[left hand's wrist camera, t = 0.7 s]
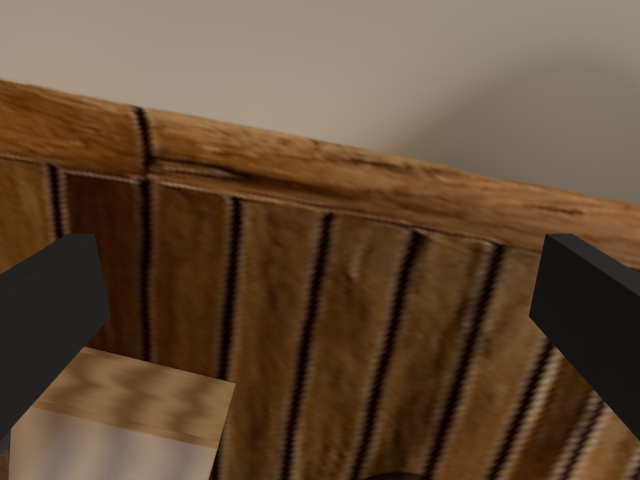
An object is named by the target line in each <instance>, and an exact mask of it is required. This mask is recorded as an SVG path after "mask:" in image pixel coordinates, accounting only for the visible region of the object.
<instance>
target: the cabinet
mask: <svg viewBox="0 0 640 480" xmlns="http://www.w3.org/2000/svg"><path fill="white" fill-rule="evenodd" d="M234 387H235V383H232V382H228V381H224V380H220V379H216V378H211V377H207V376H203V375H199V374H195V373H191V372H187V371H183V370H179V369H174V368H170V367H166V366H162V365H158V364H154V363H150V362H146V361H142V360H138V359H133V358H129V357H125V356H121V355H117V354H113V353H109V352H105V351H101V350H96V349H92V348H88V347H83V348H82V350H81V351H80V352H79V353H78V354H77V355H76V356H75V357H74V359H73V360H72V361H71V362H70V363H69V364H68V365H67V366H66V368H65V369H64V370H63V371H62V372H61V373H60V374H59V375H58V377H57V378H56V379H55V380H54V381H53V382H52V383H51V384H50V386H49V387H48V388H47V389H46V390H45V391H44V392H43V393H42V395H41V396H40V397H39V398H38V399H37V400H36V401H35V402H34V404H33V405H32V406H31V407H30V408H29V409H28V410H27V411H26V413H25V414H24V415H23V416H22V417H21V418H20V419H19V420H18V422H17V423H16V424H15V425H14V426H13V427H12V428H11V439H10V459H9V478H8V480H208V479H209V476H210V472H211V469H212V465H213V462H214V459H215V455H216V452H217V448H218V445H219V441H220V437H221V434H222V430H223V427H224V423H225V420H226V416H227V412H228V409H229V405H230V402H231V398H232V395H233V391H234Z"/></svg>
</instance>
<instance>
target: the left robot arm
mask: <svg viewBox="0 0 640 480" xmlns="http://www.w3.org/2000/svg"><path fill="white" fill-rule="evenodd" d="M110 317H111V313H110V308H109V303H108V299H107V294H106V289H105V284H104V279H103V274H102V269H101V264H100V260H99V255H98V250H97V245H96V240H95V235H94V234H67V235H65V236H63V237H62V238H60V239H58V240H57V241H55V242H53V243H52V244H50V245H49V246H47V247H45V248H44V249H42V250H40V251H39V252H37V253H35V254H34V255H32V256H30V257H29V258H27V259H25V260H24V261H22V262H20V263H19V264H17V265H15V266H14V267H12V268H10V269H9V270H7V271H5V272H4V273H2V274H1V275H0V441H1V440H2V438H3V437H4V436H5V435H6V434H7V433H8V432H9V431H10V429H11V428H12V427H13V426H14V425H15V424H16V423H17V422H18V420H19V419H20V418H21V417H22V416H23V415H24V414H25V413H26V411H27V410H28V409H29V408H30V407H31V406H32V405H33V404H34V402H35V401H36V400H37V399H38V398H39V397H40V396H41V395H42V393H43V392H44V391H45V390H46V389H47V388H48V387H49V386H50V384H51V383H52V382H53V381H54V380H55V379H56V378H57V377H58V375H59V374H60V373H61V372H62V371H63V370H64V369H65V368H66V366H67V365H68V364H69V363H70V362H71V361H72V360H73V359H74V357H75V356H76V355H77V354H78V353H79V352H80V351H81V350H82V348H83V347H84V346H85V345H86V344H87V343H88V342H89V341H90V339H91V338H92V337H93V336H94V335H95V334H96V333H97V332H98V331H99V329H100V328H101V327H102V326H103V325H104V324H105V323H106V322H107V320H108V319H109V318H110ZM529 317H530V318H531V319H532V320H533V322H534V323H535V324H536V325H537V326H538V327H539V328H540V329H541V331H542V332H543V333H544V334H545V335H546V336H547V337H548V338H549V339H550V341H551V342H552V343H553V344H554V345H555V346H556V347H557V348H558V350H559V351H560V352H561V353H562V354H563V355H564V356H565V357H566V359H567V360H568V361H569V362H570V363H571V364H572V365H573V366H574V368H575V369H576V370H577V371H578V372H579V373H580V374H581V375H582V377H583V378H584V379H585V380H586V381H587V382H588V383H589V384H590V386H591V387H592V388H593V389H594V390H595V391H596V392H597V393H598V395H599V396H600V397H601V398H602V399H603V400H604V401H605V402H606V404H607V405H608V406H609V407H610V408H611V409H612V410H613V411H614V413H615V414H616V415H617V416H618V417H619V418H620V419H621V420H622V422H623V423H624V424H625V425H626V426H627V427H628V428H629V429H630V431H631V432H632V433H633V434H634V435H635V436H636V437H637V438H638V440H639V441H640V275H639V274H638V273H636V272H635V271H633V270H631V269H630V268H628V267H626V266H625V265H623V264H621V263H620V262H618V261H616V260H615V259H613V258H611V257H610V256H608V255H606V254H605V253H603V252H601V251H600V250H598V249H596V248H595V247H593V246H591V245H590V244H588V243H587V242H585V241H583V240H582V239H580V238H578V237H577V236H575V235H573V234H546V235H545V240H544V245H543V250H542V255H541V260H540V264H539V269H538V274H537V279H536V284H535V289H534V294H533V299H532V303H531V308H530V313H529ZM368 480H429V479H427V478H424V477H421V476H418V475H413V474H404V473H395V474H385V475H380V476H376V477H373V478H370V479H368Z"/></svg>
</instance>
